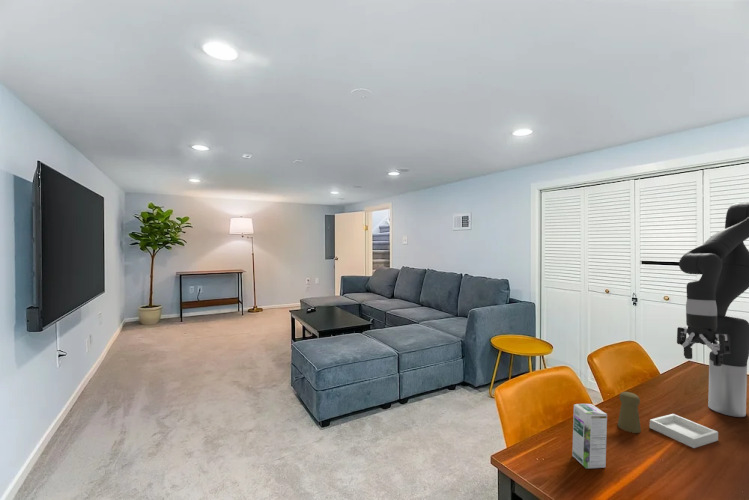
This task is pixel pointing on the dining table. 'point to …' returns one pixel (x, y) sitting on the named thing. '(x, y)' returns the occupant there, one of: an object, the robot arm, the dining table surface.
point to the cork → (629, 413)
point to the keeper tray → (684, 430)
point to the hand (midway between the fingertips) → (702, 362)
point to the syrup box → (589, 436)
